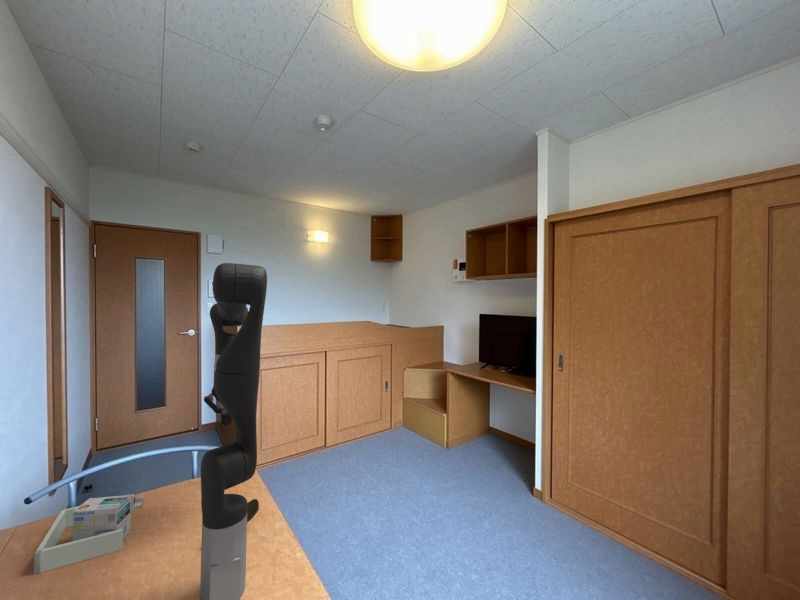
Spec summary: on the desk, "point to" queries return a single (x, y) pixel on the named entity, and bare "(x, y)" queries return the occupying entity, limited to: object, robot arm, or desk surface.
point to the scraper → (138, 502)
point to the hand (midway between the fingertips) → (226, 425)
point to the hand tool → (252, 509)
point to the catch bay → (74, 544)
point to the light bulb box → (102, 516)
